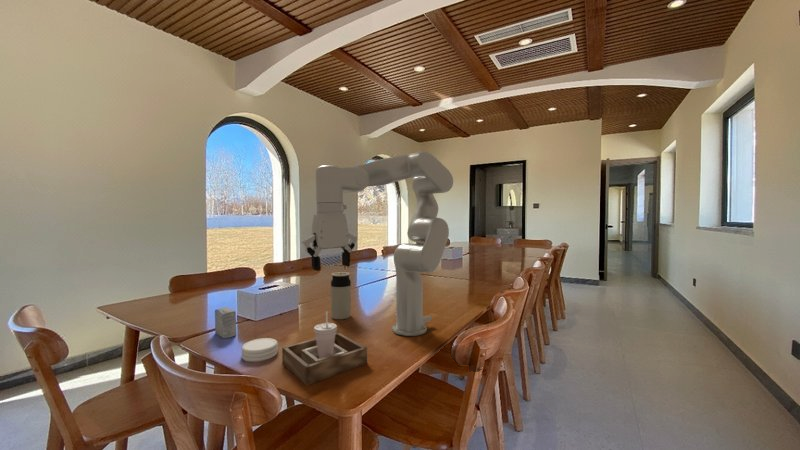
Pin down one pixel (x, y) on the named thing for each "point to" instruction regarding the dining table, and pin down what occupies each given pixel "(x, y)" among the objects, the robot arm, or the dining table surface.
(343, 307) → the travel mug
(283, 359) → the walnut box
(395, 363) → the dining table surface
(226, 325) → the medicine box
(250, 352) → the coaster
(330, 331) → the smoothie
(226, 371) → the dining table surface
